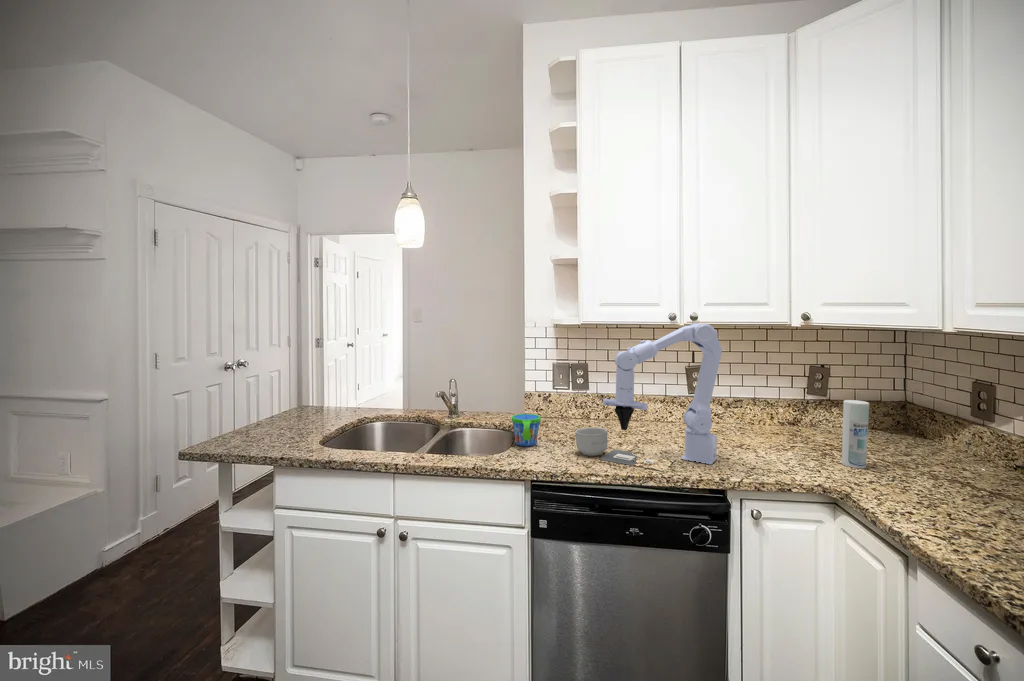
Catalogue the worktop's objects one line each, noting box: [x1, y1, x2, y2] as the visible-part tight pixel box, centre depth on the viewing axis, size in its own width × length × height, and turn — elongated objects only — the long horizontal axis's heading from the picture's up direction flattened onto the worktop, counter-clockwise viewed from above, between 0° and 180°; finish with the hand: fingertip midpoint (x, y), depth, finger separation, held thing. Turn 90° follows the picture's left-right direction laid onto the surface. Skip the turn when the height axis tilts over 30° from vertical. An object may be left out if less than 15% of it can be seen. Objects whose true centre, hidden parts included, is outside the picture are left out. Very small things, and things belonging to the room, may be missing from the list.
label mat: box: [598, 449, 654, 466], centre depth 153 cm, size 21×13×1 cm, turn 56°
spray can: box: [841, 399, 870, 469], centre depth 147 cm, size 6×6×20 cm
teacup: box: [574, 426, 609, 457], centre depth 161 cm, size 14×11×8 cm
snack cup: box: [511, 413, 542, 447], centre depth 171 cm, size 16×10×10 cm
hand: (624, 429), depth 155 cm, fingers closed
